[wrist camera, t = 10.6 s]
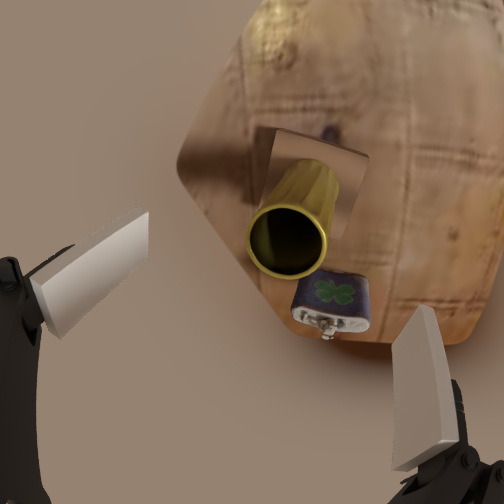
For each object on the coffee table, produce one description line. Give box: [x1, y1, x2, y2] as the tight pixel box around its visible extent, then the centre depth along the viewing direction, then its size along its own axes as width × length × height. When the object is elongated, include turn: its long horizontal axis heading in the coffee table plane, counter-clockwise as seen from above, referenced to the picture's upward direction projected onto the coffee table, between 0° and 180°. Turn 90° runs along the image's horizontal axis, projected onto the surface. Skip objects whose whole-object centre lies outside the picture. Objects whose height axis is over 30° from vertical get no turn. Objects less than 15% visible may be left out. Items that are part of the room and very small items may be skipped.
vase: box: [246, 159, 339, 279], centre depth 24 cm, size 6×6×14 cm
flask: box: [291, 267, 371, 339], centre depth 33 cm, size 9×3×11 cm, turn 88°
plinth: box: [258, 128, 369, 241], centre depth 31 cm, size 10×10×3 cm
